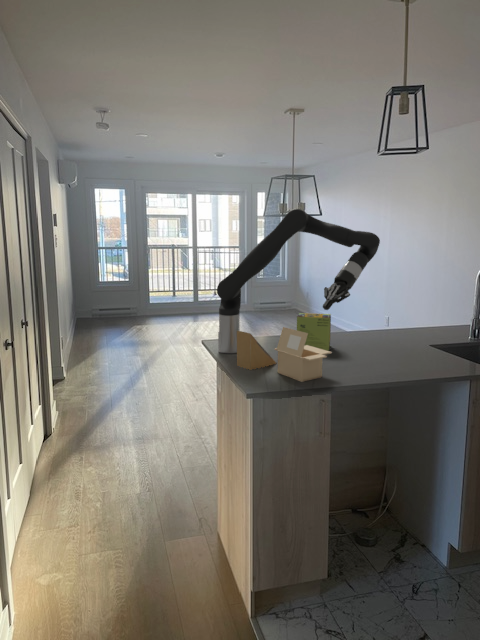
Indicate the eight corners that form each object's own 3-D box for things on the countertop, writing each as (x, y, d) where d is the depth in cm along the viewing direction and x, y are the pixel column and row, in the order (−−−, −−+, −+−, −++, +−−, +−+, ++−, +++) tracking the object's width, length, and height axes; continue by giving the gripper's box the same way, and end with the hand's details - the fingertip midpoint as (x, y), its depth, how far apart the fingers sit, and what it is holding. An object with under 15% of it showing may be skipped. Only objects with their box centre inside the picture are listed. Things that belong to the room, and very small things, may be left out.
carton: (272, 371, 192) (273, 348, 190) (301, 365, 200) (302, 343, 199) (307, 384, 176) (308, 359, 174) (337, 376, 184) (337, 353, 182)
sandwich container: (278, 364, 203) (278, 328, 200) (250, 370, 193) (250, 333, 190) (264, 359, 209) (264, 325, 206) (236, 366, 199) (236, 330, 197)
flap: (277, 349, 187) (276, 349, 187) (283, 327, 188) (282, 326, 187) (301, 357, 176) (300, 356, 176) (308, 333, 177) (306, 332, 176)
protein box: (329, 351, 223) (330, 317, 220) (295, 349, 226) (296, 316, 223) (330, 345, 233) (331, 313, 230) (297, 344, 236) (298, 312, 233)
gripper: (331, 267, 197) (308, 300, 193) (356, 270, 187) (332, 304, 182) (340, 280, 201) (317, 312, 197) (365, 283, 190) (342, 317, 186)
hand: (324, 308), depth 189 cm, fingers closed
